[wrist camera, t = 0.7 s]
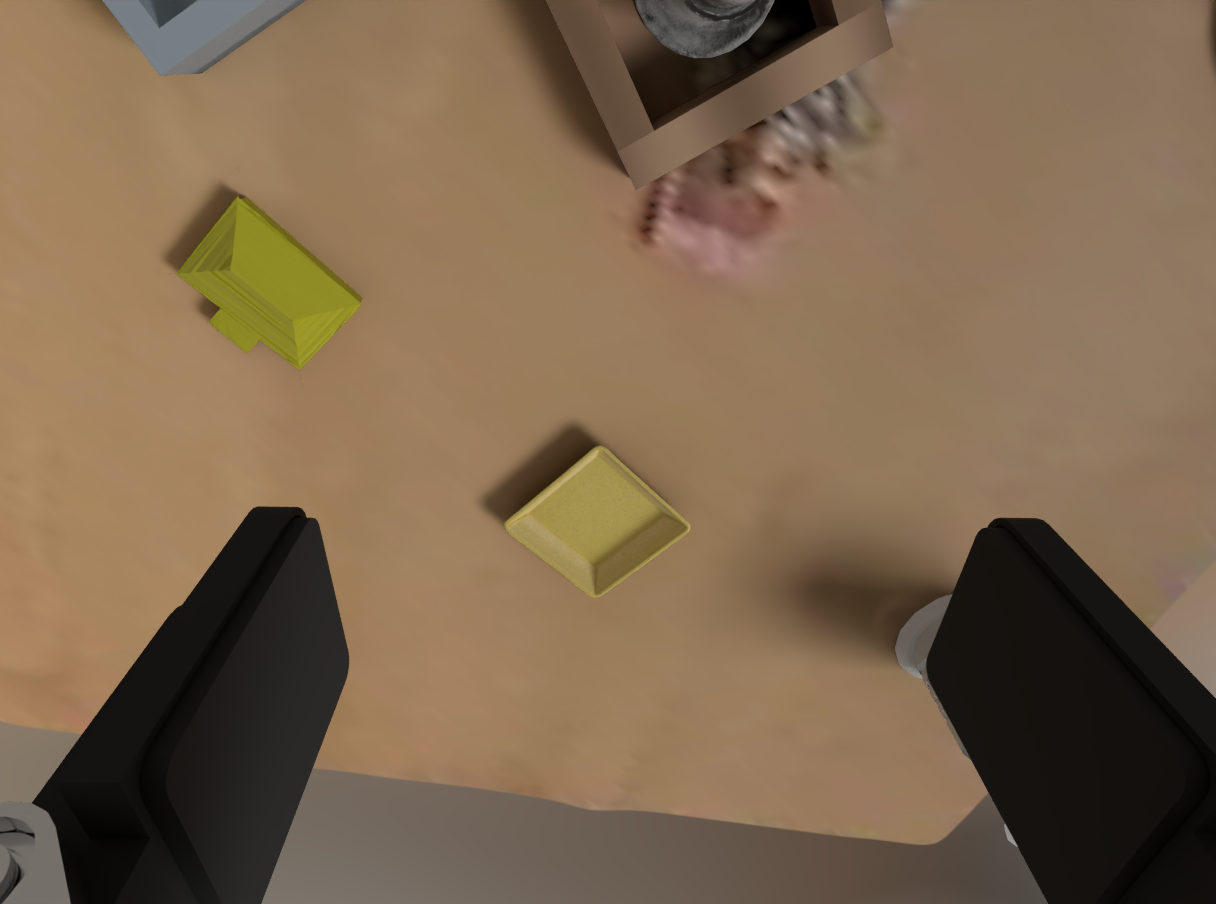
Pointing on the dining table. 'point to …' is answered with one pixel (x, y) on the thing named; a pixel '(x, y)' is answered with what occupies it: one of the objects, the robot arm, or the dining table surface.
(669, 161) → the hollow square frame
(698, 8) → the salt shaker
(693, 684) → the dining table surface
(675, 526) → the yellow shallow rimmed piece
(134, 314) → the dining table surface
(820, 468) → the dining table surface
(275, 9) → the tray
